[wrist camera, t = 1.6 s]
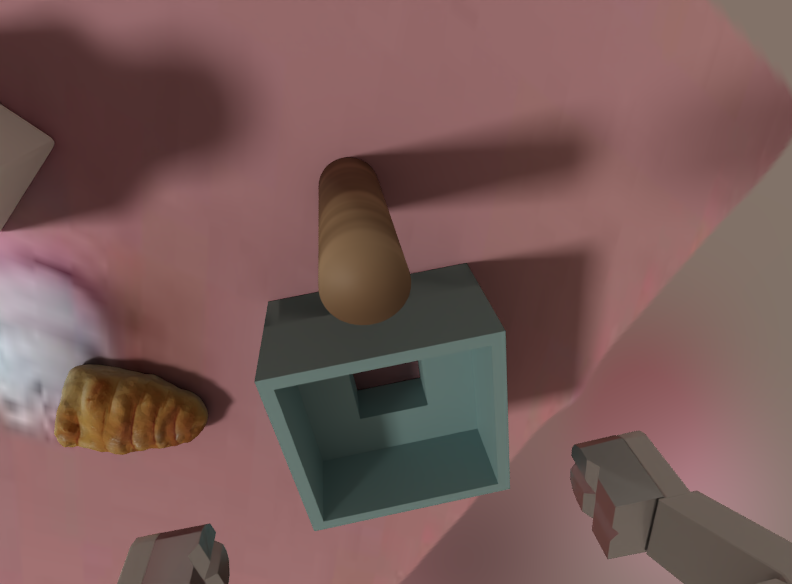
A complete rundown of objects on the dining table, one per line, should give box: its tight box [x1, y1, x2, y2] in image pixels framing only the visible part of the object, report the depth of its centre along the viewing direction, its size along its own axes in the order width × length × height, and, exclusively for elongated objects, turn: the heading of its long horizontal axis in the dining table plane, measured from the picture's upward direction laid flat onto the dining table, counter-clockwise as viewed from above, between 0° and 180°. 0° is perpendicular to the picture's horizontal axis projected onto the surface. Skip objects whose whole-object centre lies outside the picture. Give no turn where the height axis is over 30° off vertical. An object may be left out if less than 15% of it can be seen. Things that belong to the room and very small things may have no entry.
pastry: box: [54, 364, 208, 455], centre depth 33 cm, size 9×7×4 cm
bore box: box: [255, 263, 510, 531], centre depth 32 cm, size 14×14×8 cm
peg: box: [318, 157, 411, 325], centre depth 24 cm, size 4×4×12 cm
